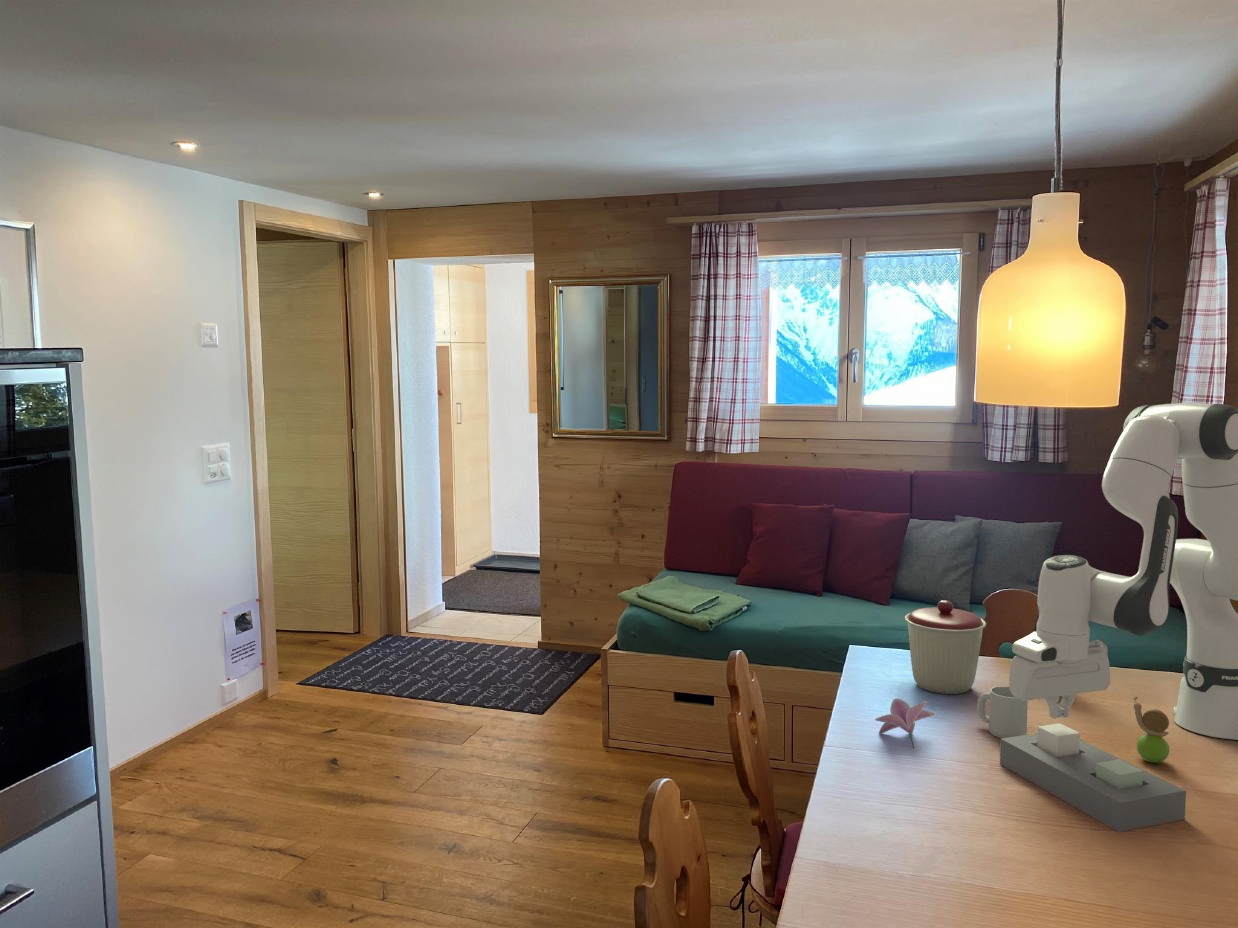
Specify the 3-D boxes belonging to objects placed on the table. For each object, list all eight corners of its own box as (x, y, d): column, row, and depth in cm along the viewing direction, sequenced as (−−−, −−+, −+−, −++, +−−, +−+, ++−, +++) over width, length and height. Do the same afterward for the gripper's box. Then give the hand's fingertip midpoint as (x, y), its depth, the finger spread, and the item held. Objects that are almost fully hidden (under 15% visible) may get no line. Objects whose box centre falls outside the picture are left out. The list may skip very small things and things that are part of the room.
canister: (977, 677, 228) (980, 593, 226) (989, 703, 210) (992, 612, 208) (900, 672, 232) (902, 589, 230) (906, 697, 215) (908, 608, 212)
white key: (1058, 748, 176) (1059, 723, 176) (1078, 758, 172) (1079, 732, 171) (1036, 752, 175) (1037, 726, 174) (1056, 762, 170) (1057, 736, 170)
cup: (1019, 743, 188) (1021, 700, 187) (970, 731, 194) (971, 689, 194) (1031, 732, 193) (1032, 691, 192) (982, 721, 200) (984, 680, 199)
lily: (945, 744, 191) (931, 696, 194) (939, 741, 180) (925, 691, 184) (886, 755, 194) (874, 708, 198) (878, 753, 184) (865, 704, 188)
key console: (1059, 754, 182) (1060, 729, 182) (1184, 818, 156) (1186, 790, 155) (999, 763, 178) (1000, 738, 178) (1118, 831, 152) (1119, 802, 151)
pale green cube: (1118, 786, 163) (1119, 759, 163) (1141, 798, 159) (1143, 770, 158) (1095, 790, 162) (1096, 762, 161) (1118, 803, 157) (1119, 774, 157)
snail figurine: (1135, 751, 183) (1138, 692, 182) (1172, 761, 179) (1175, 700, 177) (1126, 760, 179) (1129, 699, 178) (1163, 770, 175) (1166, 708, 174)
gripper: (1093, 634, 177) (1090, 704, 179) (1004, 644, 171) (1002, 717, 173) (1120, 643, 171) (1117, 716, 173) (1029, 654, 165) (1026, 729, 167)
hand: (1059, 717), depth 173 cm, fingers closed
